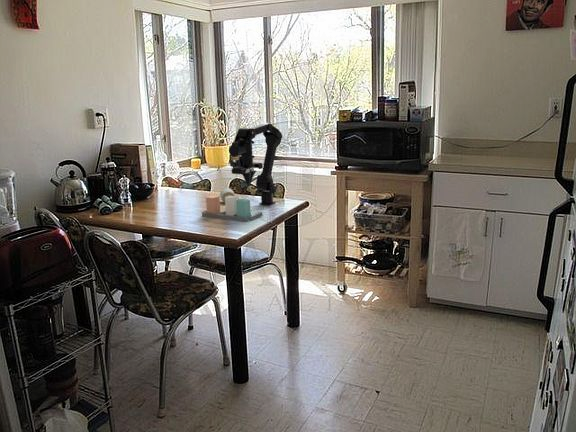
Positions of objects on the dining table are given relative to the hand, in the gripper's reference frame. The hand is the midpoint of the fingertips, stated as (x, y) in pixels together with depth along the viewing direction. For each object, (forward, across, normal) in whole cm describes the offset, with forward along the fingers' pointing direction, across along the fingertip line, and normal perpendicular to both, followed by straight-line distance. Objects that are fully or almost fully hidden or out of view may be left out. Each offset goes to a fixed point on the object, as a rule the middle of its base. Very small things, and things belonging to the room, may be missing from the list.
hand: (248, 185), depth 248 cm
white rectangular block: (+12, +14, 0) cm, 18 cm away
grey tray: (+13, +14, 0) cm, 19 cm away
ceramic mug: (+13, -10, -20) cm, 26 cm away
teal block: (+12, +17, +9) cm, 23 cm away
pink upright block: (+12, +17, -9) cm, 23 cm away
